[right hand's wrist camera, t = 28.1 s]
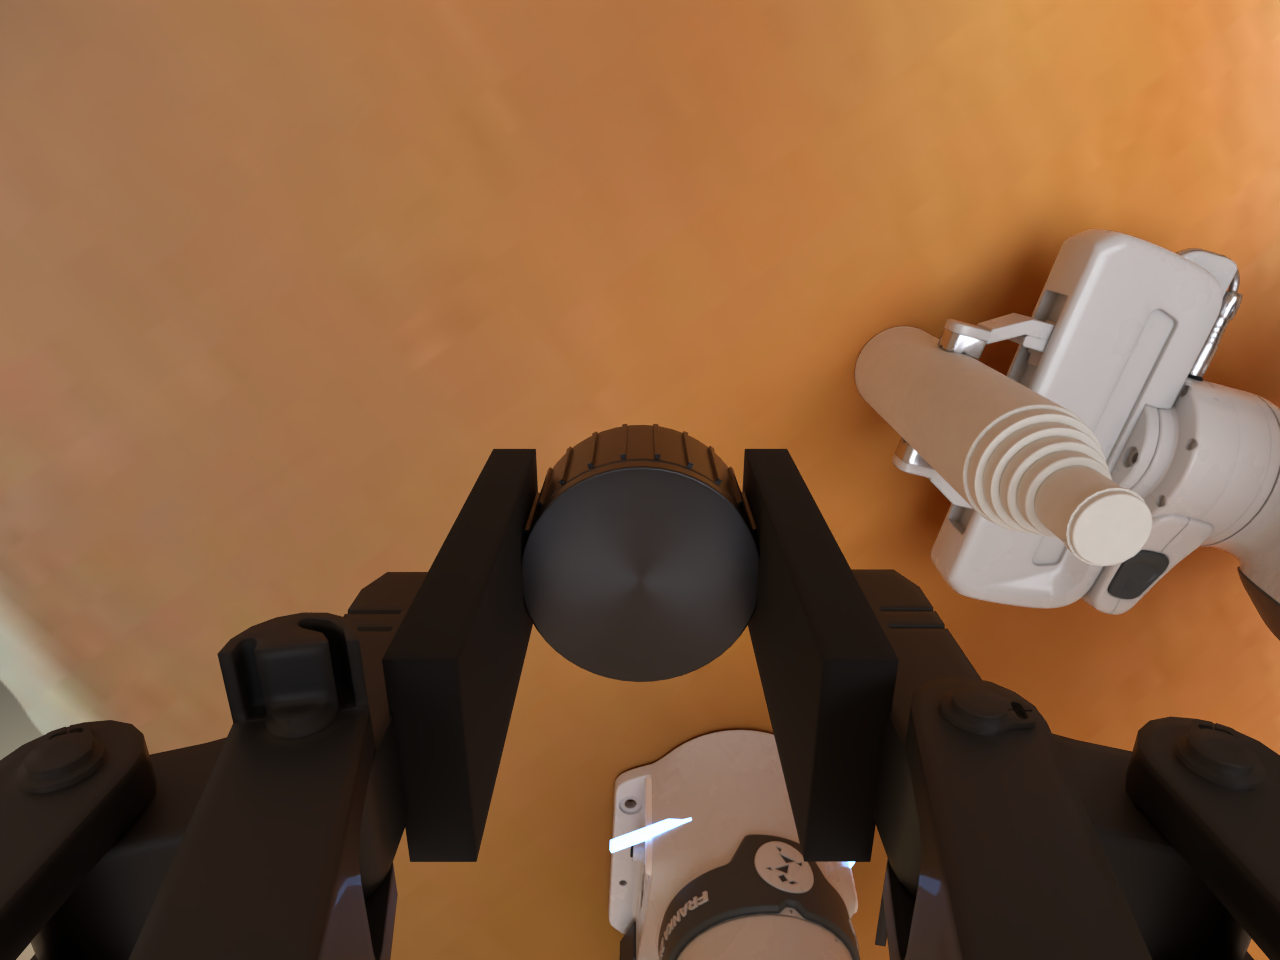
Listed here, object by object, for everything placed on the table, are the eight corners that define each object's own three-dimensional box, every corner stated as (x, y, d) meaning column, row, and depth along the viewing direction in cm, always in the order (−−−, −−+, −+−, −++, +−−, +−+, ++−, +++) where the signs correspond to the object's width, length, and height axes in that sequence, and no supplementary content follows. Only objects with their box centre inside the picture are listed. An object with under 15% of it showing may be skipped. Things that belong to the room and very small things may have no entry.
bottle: (836, 375, 48) (998, 540, 26) (900, 307, 47) (1127, 422, 25) (897, 428, 49) (1099, 628, 28) (960, 364, 48) (1229, 520, 26)
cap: (636, 654, 15) (635, 725, 13) (487, 520, 14) (463, 576, 12) (792, 528, 14) (817, 586, 12) (644, 375, 13) (646, 410, 11)
